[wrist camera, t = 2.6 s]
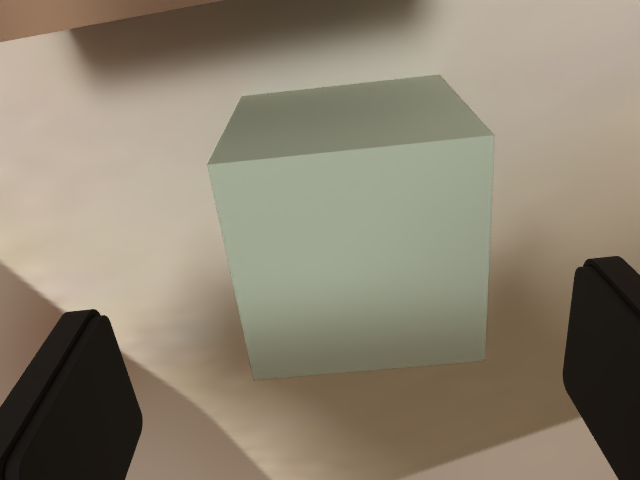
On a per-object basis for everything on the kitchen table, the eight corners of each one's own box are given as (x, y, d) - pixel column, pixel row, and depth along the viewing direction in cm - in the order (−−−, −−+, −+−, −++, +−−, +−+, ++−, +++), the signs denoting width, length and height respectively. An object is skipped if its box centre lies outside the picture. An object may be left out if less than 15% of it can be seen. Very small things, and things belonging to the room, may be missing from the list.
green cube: (439, 74, 17) (494, 135, 11) (440, 247, 20) (485, 361, 14) (242, 95, 17) (207, 164, 12) (271, 263, 20) (253, 380, 15)
